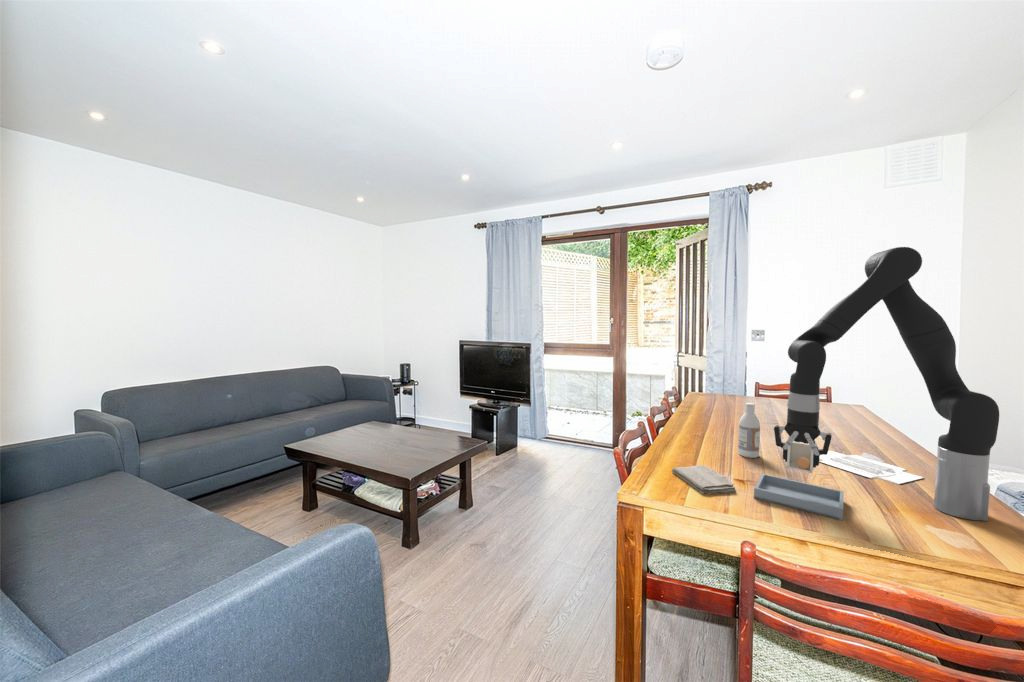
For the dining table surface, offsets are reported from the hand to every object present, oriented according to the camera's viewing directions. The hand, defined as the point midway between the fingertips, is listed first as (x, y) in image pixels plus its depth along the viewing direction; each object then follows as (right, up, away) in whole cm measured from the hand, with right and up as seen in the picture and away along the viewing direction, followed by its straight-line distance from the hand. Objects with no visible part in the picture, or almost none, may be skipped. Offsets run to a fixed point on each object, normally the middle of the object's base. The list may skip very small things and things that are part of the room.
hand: (800, 463), depth 117 cm
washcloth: (-24, -10, +10) cm, 28 cm away
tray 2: (+38, -9, +23) cm, 45 cm away
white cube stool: (0, -1, 0) cm, 1 cm away
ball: (-1, +1, -2) cm, 2 cm away
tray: (-2, -10, -2) cm, 10 cm away
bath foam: (+5, -7, +34) cm, 35 cm away
